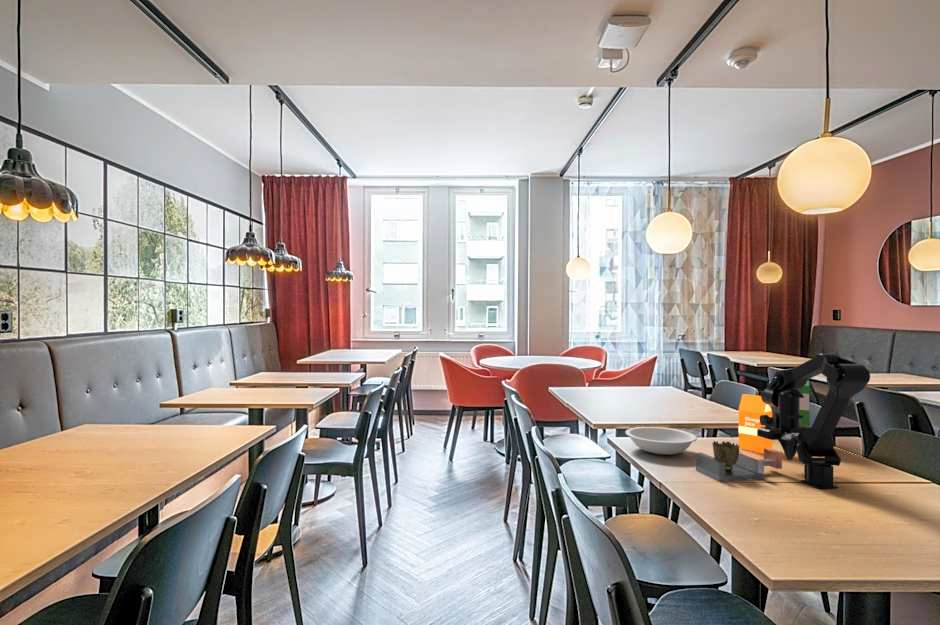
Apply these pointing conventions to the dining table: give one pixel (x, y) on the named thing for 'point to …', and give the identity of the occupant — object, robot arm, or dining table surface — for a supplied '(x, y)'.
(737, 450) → the ornate bronze lampshade
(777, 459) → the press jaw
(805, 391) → the hardback book
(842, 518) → the dining table surface
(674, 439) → the soup bowl
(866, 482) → the dining table surface
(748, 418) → the orange juice
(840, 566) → the dining table surface
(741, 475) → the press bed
